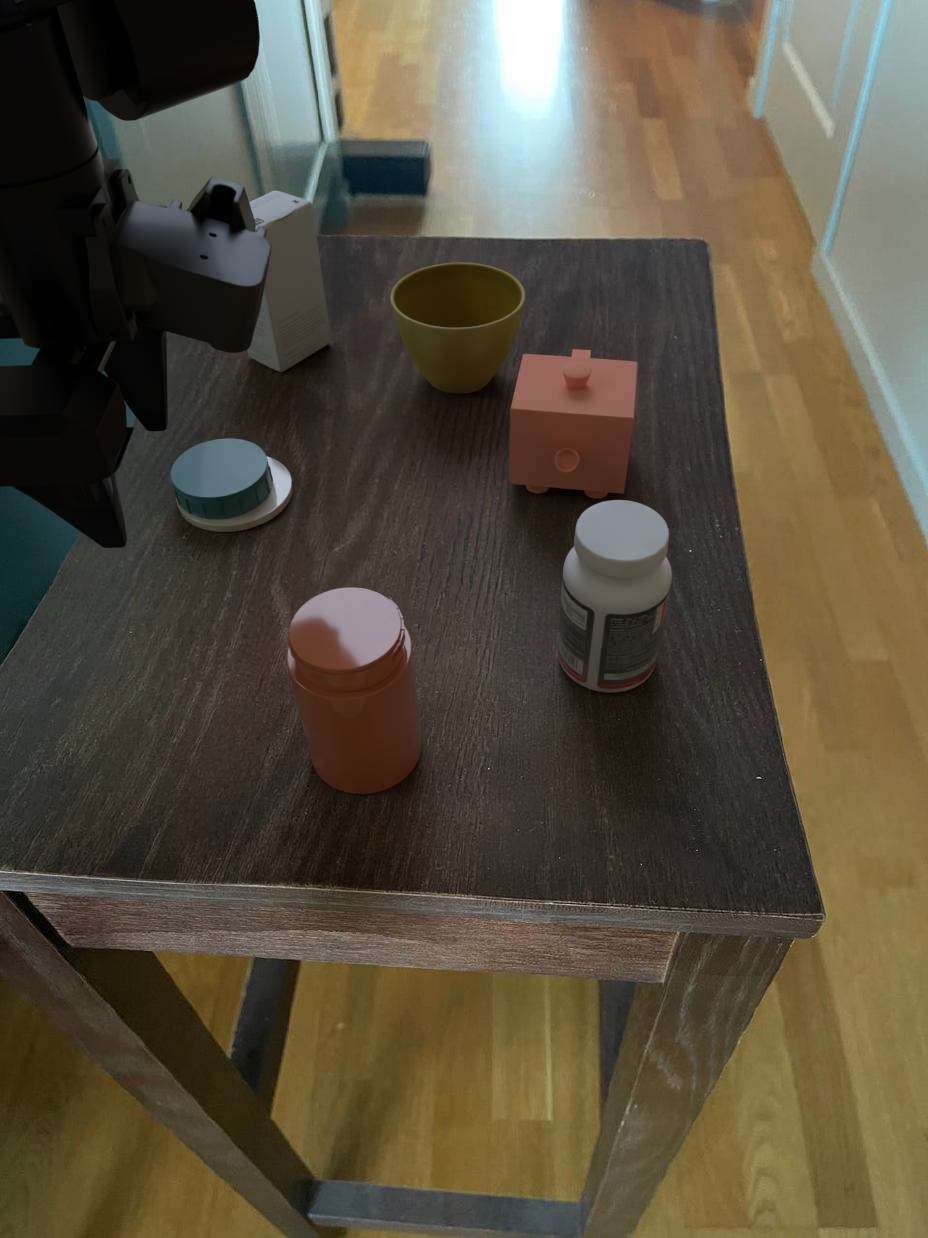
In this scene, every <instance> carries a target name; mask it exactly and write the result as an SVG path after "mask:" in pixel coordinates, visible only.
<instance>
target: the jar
mask: <svg viewBox="0 0 928 1238" xmlns="http://www.w3.org/2000/svg"><path fill="white" fill-rule="evenodd" d="M285 661H286V662H285V663H286V667H287V672H288V676H289V679H290V683H291V687H292V690H293V695H294V698H295V703H296V706H297V711H298V714H299V718H300V722H301V726H302V729H303V734H304V738H305V742H306V746H307V749H308V753H309V757H310V761H311V764H312V767H313V769H314V770H315V772H316V774H317V776H318V777H319V778H320V779H321V780H322V781H323V782H325V783H326V784H327V785H328V786H330V787H332V788H333V789H335V790H337V791H341V792H343V793H346V794H347V793H348V794H352V795H370V794H375V793H380V792H383V791H386V790H389V789H391V788H393V787H394V786H396V785H398V784H400V783H401V782H402V781H404V780H405V778H407V777H408V776H409V775H410V774H411V773H412V771H413V770H414V769H415V767H416V765H418V762H419V760H420V757H421V754H422V748H423V739H422V729H421V727H422V726H421V720H420V719H421V718H420V709H419V708H420V707H419V698H418V696H419V695H418V687H417V677H416V667H415V657H414V645H413V640H412V636H411V633H410V631H409V630H408V628H407V627H406V625H405V620H404V616H403V614H402V611H401V609H400V607H399V606H398V605H397V604H396V603H395V602H394V600H392V599H391V598H388V597H386V595H383V594H382V593H380V592H378V591H375V590H372V589H369V588H364V587H356V586H349V587H348V586H347V587H346V586H345V587H338V588H333V589H329V590H327V591H323V592H322V593H318V594H317V595H315V596H313V597H311V598H310V599H308V600H307V601H306V602H305V603H304V604H302V605H301V606H300V607H299V609H298V610H297V611H296V612H295V614H294V615H293V617H292V619H291V621H290V624H289V629H288V632H287V649H286V655H285Z"/></svg>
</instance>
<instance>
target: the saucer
mask: <svg viewBox="0 0 928 1238" xmlns="http://www.w3.org/2000/svg"><path fill="white" fill-rule="evenodd" d="M266 456H267V455H266ZM267 460H268V464H269V466H270V468H271V473H272V477H273V482H272V488H271V491H270V493H269V495H268V496H267V498H266V499H265V500H264V501H263V502H262V503H261V504H260V505H259V506H257V507H256V508H254V509H253V510H251V511H249V512H247V513H244V514H242V515H239V516H235V517H231V518H225V519H205V518H200V517H197V516H194V515H192V514H189V513H188V512H187V511H185V510H184V509H183V508H182V507H181V505H179V504H178V501H177V498H176V497H175V501H176V505H177V509H178V510H179V513H180V515H181V516H182V518H183V519H184V520H186V521H187V522H188V523H189V524H191V525H192V526H194V527H195V528H198V529H201V530H205V531H208V532H217V533H234V532H240V531H245V530H249V529H252V528H256V527H258V526H261V525H264V524H265V523H267V522H269V521H271V520H273V519H274V518H275V517H277V516H279V514H280V513H281V512H283V510H284V509H285V508H286V507H287V506H288V504H289V503H290V501H291V499H292V496H293V492H294V484H293V478H292V475H291V473H290V471H289V469H288V468H287V467H286V466H285V465H284V464H283V463H282V462H280V461H279V460H277V459H275V458H273V457H270V456H267Z"/></svg>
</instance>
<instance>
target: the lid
mask: <svg viewBox="0 0 928 1238" xmlns="http://www.w3.org/2000/svg"><path fill="white" fill-rule="evenodd" d="M169 476H170V481H171V484H172V487H173V490H174V492H173V493H174V495H175V499H176V498H177V501H178V504H179V505H181V507H182V508H183V509H184V510H185V511H187V512H188V513H189V514H192V515H194V516H197V517H200V518H205V519H225V518H231V517H235V516H239V515H242V514H244V513H247V512H249V511H251V510H253V509H254V508H256V507H257V506H259V505H260V504H261V503H262V502H263V501H264V500H265V499H266V498H267V496H268V495H269V493H270V491H271V488H272V482H273V477H272V473H271V468H270V466H269V464H268V460H267V454H266V452H265V451H264V450H263V449H262V448H261V447H260V446H259V445H258V444H256V443H254V442H252V441H249V440H246V439H241V438H235V437H234V438H231V437H230V438H229V437H227V438H226V437H225V438H216V439H211V440H207V441H204V442H201V443H198V444H196V445H194V446H192V447H190V448H188V449H187V450H186V451H184V452H183V453H181V454H180V455H178V457H177V458H176V460H175V461H174V462H173V464H172V465H171V469H170V474H169ZM177 501H176V502H177Z"/></svg>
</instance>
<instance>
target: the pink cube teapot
mask: <svg viewBox="0 0 928 1238" xmlns="http://www.w3.org/2000/svg"><path fill="white" fill-rule="evenodd" d="M591 353H592V350H590V349H578V348H577V349H576V348H573V349H572V351H571V356H567V355H566V356H565V355H552V354H551V355H548V354H536V353H535V354H533V353H523V354H522V357H521V361H520V365H519V370H518V375H517V379H516V384H515V388H514V393H513V397H512V400H511V406H510V411H509V453H508V454H509V458H508V459H509V462H508V464H509V465H508V484H510V485H520V486H522V485H523V486H525V488H526V489H527V491H529V492H530V493H534V494H543V493H546V492H548V491H549V490H550V488H553V489H554V488H556V489H565V490H578V491H583V492H584V495H586V496H587V497H588V498H591V499H602V498H605V497H607V496H608V493H612V494H623V495H624V494H625V490H626V489H625V488H626V482H627V475H628V474H627V473H628V466H629V460H630V453H631V443H632V438H633V437H632V436H633V429H634V422H635V413H636V412H635V410H636V397H637V381H638V369H639V367H638V366H639V363H638V361H633V360H624V359H623V360H621V359H609V358H596V357H595V358H593V357H591Z"/></svg>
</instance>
